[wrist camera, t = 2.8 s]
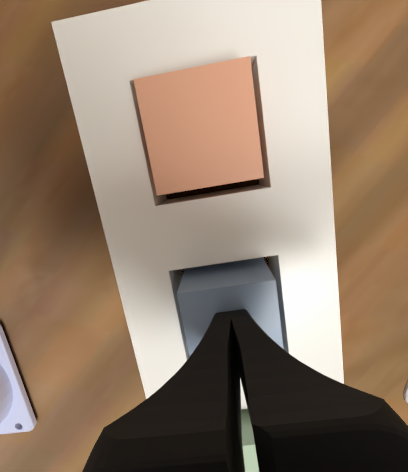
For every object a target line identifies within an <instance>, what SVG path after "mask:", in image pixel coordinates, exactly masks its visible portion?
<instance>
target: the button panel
mask: <svg viewBox="0 0 408 472" xmlns="http://www.w3.org/2000/svg"><path fill="white" fill-rule="evenodd" d="M51 23H52V27H53V31H54V35H55V39H56V43H57V47H58V51H59V55H60V59H61V63H62V67H63V71H64V75H65V79H66V83H67V87H68V91H69V95H70V99H71V102H72V106H73V110H74V114H75V118H76V122H77V126H78V130H79V134H80V138H81V142H82V146H83V150H84V154H85V158H86V162H87V166H88V170H89V174H90V178H91V182H92V186H93V189H94V193H95V197H96V201H97V205H98V209H99V213H100V217H101V221H102V225H103V229H104V233H105V237H106V241H107V245H108V249H109V253H110V257H111V261H112V265H113V269H114V273H115V276H116V280H117V284H118V288H119V292H120V296H121V300H122V304H123V308H124V312H125V316H126V320H127V324H128V328H129V332H130V336H131V340H132V344H133V348H134V352H135V356H136V360H137V363H138V367H139V371H140V375H141V379H142V383H143V387H144V391H145V395H146V399H147V398H149V397H150V396H151V395H152V394H154V393H155V392H156V391H157V390H158V389H160V388H161V387H162V386H163V385H164V384H165V383H166V382H167V381H168V380H169V379H170V378H171V377H172V376H173V375H174V374H175V373H176V372H177V371H178V370H179V369H180V368H181V367H182V366H183V365H184V363H185V362H186V361H187V360H188V358H189V357H190V356H189V351H188V346H187V341H186V337H185V332H184V327H183V322H182V317H181V312H180V307H179V302H178V297H177V291H178V288H179V285H180V282H181V278H182V274H181V269H185V268H192V267H198V266H205V265H212V264H219V263H226V262H233V261H240V260H247V259H253V258H260V257H267V256H268V263H269V269H270V271H271V273H272V274H273V276H274V278H275V279H276V287H277V295H278V304H279V313H280V322H281V331H282V339H283V348H284V350H285V351H286V352H288V353H289V354H290V355H292V356H293V357H295V358H296V359H297V360H299V361H301V362H302V363H304V364H306V365H307V366H309V367H311V368H312V369H314V370H316V371H318V372H320V373H321V374H323V375H325V376H327V377H329V378H332V379H334V380H336V381H338V382H340V383H342V384H344V376H343V359H342V343H341V326H340V309H339V293H338V276H337V259H336V243H335V226H334V209H333V192H332V176H331V159H330V142H329V126H328V109H327V92H326V76H325V59H324V42H323V26H322V9H321V0H149V1H144V2H139V3H135V4H130V5H126V6H121V7H117V8H112V9H108V10H103V11H99V12H94V13H90V14H85V15H81V16H76V17H72V18H67V19H63V20H58V21H53V22H51ZM247 56H250V59H251V67H252V76H253V85H254V94H255V102H256V111H257V120H258V129H259V137H260V146H261V155H262V164H263V173H264V178H260V179H259V185H253V186H247V187H241V188H235V189H229V190H223V191H217V192H211V193H205V194H199V195H193V196H187V197H180V198H174V199H168V200H167V197H166V194H164V195H158V196H157V193H156V188H155V184H154V179H153V174H152V169H151V164H150V159H149V154H148V149H147V144H146V139H145V134H144V129H143V124H142V119H141V114H140V110H139V105H138V100H137V95H136V90H135V85H134V80H133V79H137V78H142V77H147V76H152V75H157V74H162V73H167V72H172V71H177V70H182V69H187V68H192V67H197V66H202V65H207V64H212V63H217V62H222V61H227V60H232V59H237V58H242V57H247ZM240 386H241V409H248V408H247V404H246V400H245V395H244V391H243V387H242V383H241V378H240Z"/></svg>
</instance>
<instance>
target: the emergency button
mask: <svg viewBox="0 0 408 472" xmlns="http://www.w3.org/2000/svg"><path fill="white" fill-rule="evenodd" d="M404 400H405V401H406V402H407V403H408V381H407V384H406V387H405V390H404Z"/></svg>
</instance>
